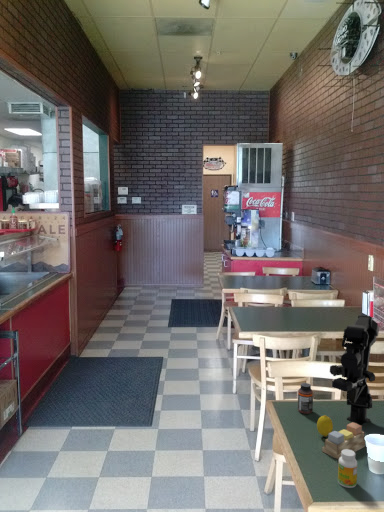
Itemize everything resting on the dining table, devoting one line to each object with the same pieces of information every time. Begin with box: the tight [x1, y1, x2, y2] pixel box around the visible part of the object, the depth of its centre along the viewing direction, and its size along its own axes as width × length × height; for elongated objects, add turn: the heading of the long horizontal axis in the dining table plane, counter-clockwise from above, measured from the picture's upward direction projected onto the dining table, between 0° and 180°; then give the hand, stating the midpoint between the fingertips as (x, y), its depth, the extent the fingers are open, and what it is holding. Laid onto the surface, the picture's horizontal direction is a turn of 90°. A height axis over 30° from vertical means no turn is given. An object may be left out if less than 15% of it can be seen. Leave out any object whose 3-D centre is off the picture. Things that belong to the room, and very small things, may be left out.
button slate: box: [327, 430, 344, 445], centre depth 158 cm, size 4×4×4 cm
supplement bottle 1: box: [297, 382, 314, 415], centre depth 190 cm, size 6×6×11 cm
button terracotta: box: [345, 421, 363, 436], centre depth 164 cm, size 4×4×4 cm
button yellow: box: [338, 428, 353, 440], centre depth 161 cm, size 4×4×4 cm
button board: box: [321, 430, 366, 461], centre depth 161 cm, size 16×7×4 cm, turn 128°
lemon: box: [316, 414, 334, 438], centre depth 169 cm, size 6×6×8 cm
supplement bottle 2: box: [337, 449, 358, 489], centre depth 141 cm, size 5×5×10 cm
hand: (353, 402), depth 170 cm, fingers closed
